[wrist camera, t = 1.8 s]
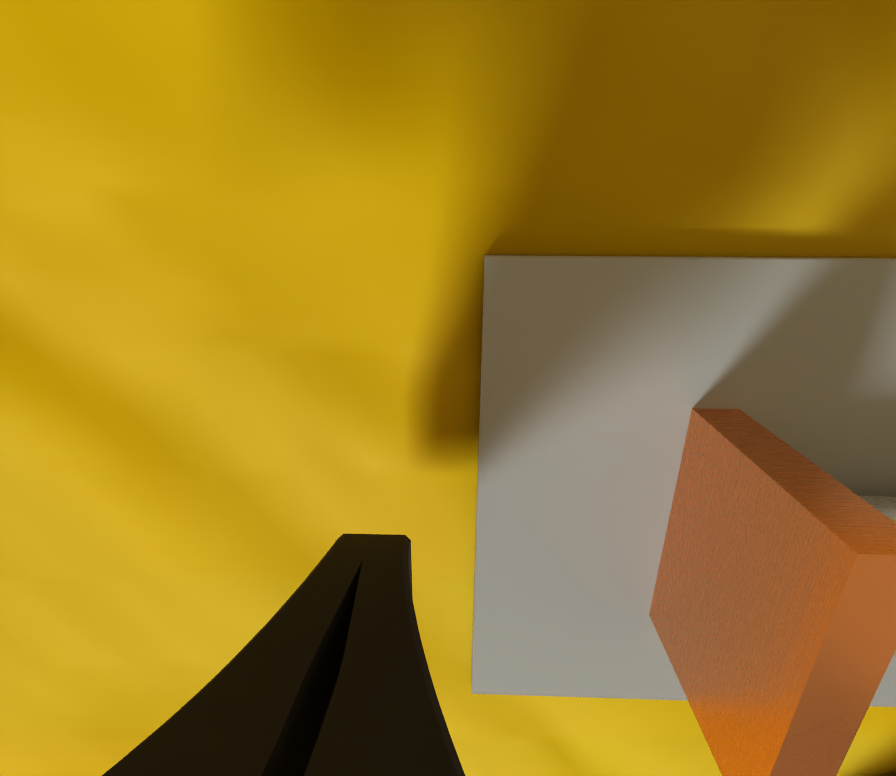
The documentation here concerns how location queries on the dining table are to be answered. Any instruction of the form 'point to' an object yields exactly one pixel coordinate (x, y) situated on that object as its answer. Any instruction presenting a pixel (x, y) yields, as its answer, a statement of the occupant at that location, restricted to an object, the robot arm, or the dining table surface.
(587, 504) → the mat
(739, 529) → the pin
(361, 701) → the robot arm
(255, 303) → the dining table surface
